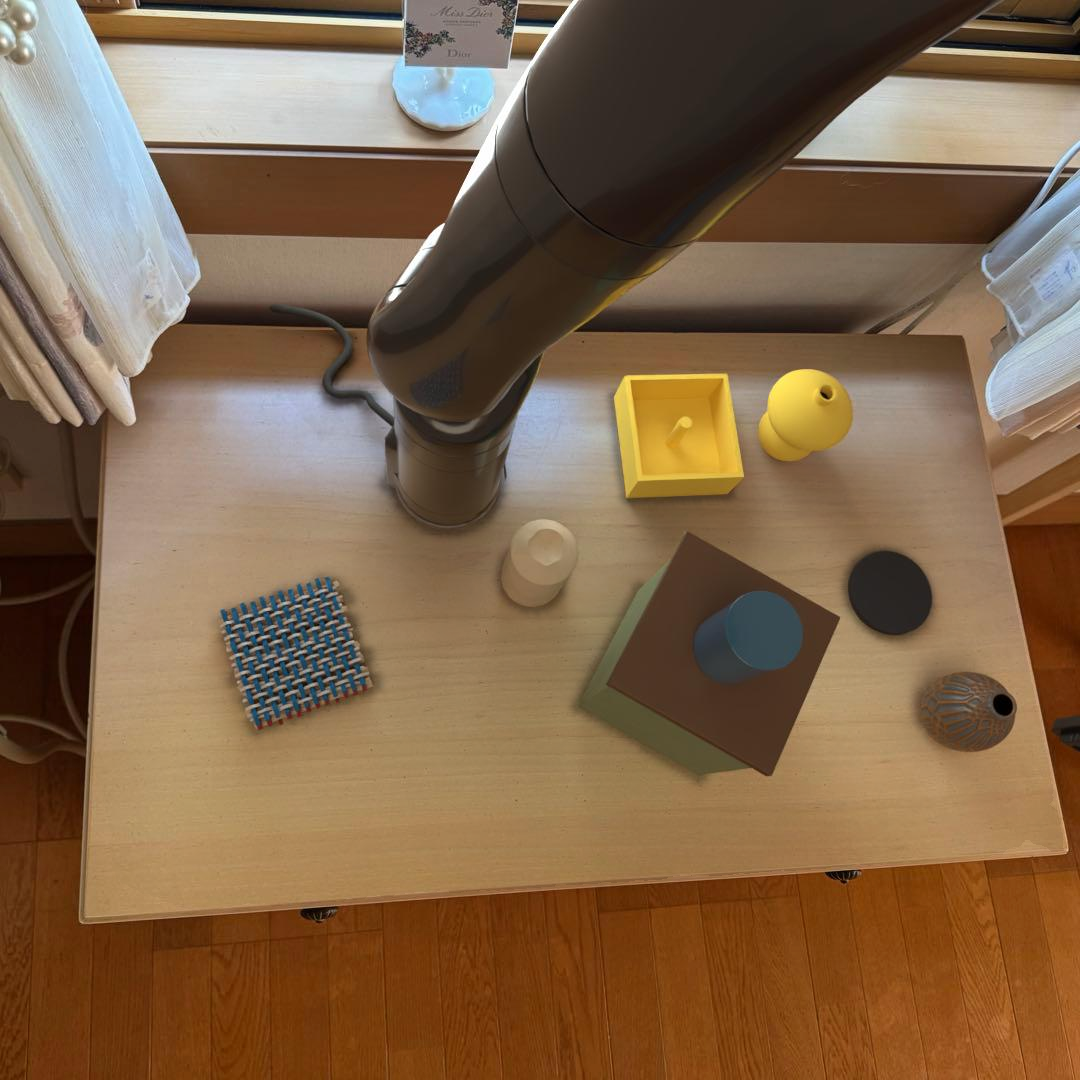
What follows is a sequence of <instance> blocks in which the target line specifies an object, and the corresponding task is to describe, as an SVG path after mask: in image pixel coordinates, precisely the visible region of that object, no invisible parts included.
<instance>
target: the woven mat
mask: <svg viewBox="0 0 1080 1080" xmlns="http://www.w3.org/2000/svg"><path fill="white" fill-rule="evenodd" d="M324 581H325V585H322V582H321V580H320V577H316V578H314V582H315V585H316V587H315V588H313V586H312V583H311V582H306V583H305V585H306V588H307V590H306V591H304V589H303V586H302V585H301V583H298V584H296V585H295V586H296V589H297V592H298V593H297V594H295V593H294V590H293V588H288V589H287V593H288V596H285V594H284V592H283V590H282V589H280V590H278V591H277V594H278V598H279V599H277V600H276V598H275V596H274V594H271V595H268V598H269V602H270V603H267V601H266V599H265V598H264V596H263V595H262V596H259V597H258V601H259V604H260V606H258V607H257V603H256V601H255V600H253V601H250V602H249V603H250V607H251V609H249V610H248V607H247V604H245V602H240V603H239V606H240V610H241V612H240V613H239V611H238V609H237V607H236V606H234V607H232V608H230V611H231V614H230V615H229V614H228V612H227V610H225V608H223V609H220V610H219V612H220V615H221V617H222V618H220V619H218V620H217V626H219V627H220V629H221V628H223V627H224V629H223V630H220V633H221V634H226V636H225V637H223V640H224V641H225V644H226V647H225V650H226V652H227V653H233V654H232V655H230V656H229V658H228V659H230V661H232V660H233V663H231V666H230V667H231V668H233V671H234V672H233V673H234V678H235V680H237V681H236V682H235V683H236V684H237V687H236V688H237V690H238V691H239V692H240V693H242V692H243V693H242V695H243V697H245V698H242V703H247V704H248V706H247V707H245V708H244V712H245V716H246V717H247V718H248V719H249V722H253V725H254V728H255V729H256V730H258V731H261V730H263V729H264V727H265V726H267V727H269V728H270V727H272V726H273V725H274V724H273V723H275V722H278V725H279V726H282V725H284V719H287V720H291V719H293V716H297V718H301V717H303V713H304V712H306V713H310V712H312V709H314V708H315V709H316V710H318V709H320V708H322V707H321V706H322V705H325V706H329V705H331V702H333V701H335V704H339V703H341V698H344V699H349V698H350V695H352V694H353V696H354V697H357V696H359V692H361V691H363V693H365V692H367V691H368V689H369V688H373V687H374V685H373V682H372V680H371V678H370V676H369V675H370V672H369V667H368V666H364V665H361V666H360V664H362V663H365V662H366V661H365V658H364V655H363V653H361V651H359V650H360V647H361V644H360V642H358V641H357V640H352V639H354V636H353V633H352V631H354V627H351V626H352V625H351V622H349V621H348V618H347V617H346V616H344V617H343V614H345V613H348V612H349V611H348V609H349V608H348V606H346V605H343V604H342V603H343V602H345V600H344V597H343V594H340V595H339V592H338V591H334V590H337V588H338V587H339V586H340V582H338V581H337V580H334V581H332V582H331V580H330V577H329V575H327V576H325V577H324ZM319 596H320V597H319ZM317 597H318V598H317ZM310 599H311V600H310ZM307 600H309V601H307ZM298 603H301V604H298ZM289 605H291V606H290V607H289ZM279 609H281V610H279ZM271 612H273V613H271ZM270 613H271V614H270ZM261 615H263V616H261ZM336 617H337V618H338V619H335V618H336ZM253 618H254V619H253ZM252 619H253V620H252ZM326 621H328V622H327V623H325V622H326ZM242 622H244V623H242ZM232 624H235V625H234V626H232ZM318 624H319V625H318ZM316 625H317V626H316ZM309 627H310V628H309ZM306 628H309V629H306ZM236 629H237V630H236ZM267 631H268V632H267ZM298 631H300V632H298ZM288 634H291V635H289V636H288ZM329 634H330V635H329ZM279 637H281V638H280V639H278V638H279ZM270 641H271V642H270ZM344 641H345V643H342V642H344ZM260 644H262V645H260ZM334 645H336V646H335V647H333V646H334ZM251 647H252V648H251ZM325 649H326V650H325ZM242 650H243V651H242ZM240 651H242V652H240ZM316 652H318V653H316ZM307 655H308V656H307ZM305 656H306V657H305ZM287 662H288V663H287ZM277 665H279V666H277ZM353 666H354V668H353V669H351V667H353ZM268 669H269V670H268ZM342 669H344V670H345V672H341V670H342ZM259 672H260V673H259ZM334 672H335V674H336V675H333V676H332V674H333V673H334ZM248 676H249V677H248ZM325 676H326V678H325V679H323V678H322V677H325ZM367 676H368V677H367ZM365 677H366V678H365ZM357 679H358V680H357ZM314 680H316V682H313V681H314ZM306 683H307V685H304V684H306ZM295 687H297V689H294V688H295ZM285 690H288V692H285ZM244 691H245V692H244ZM277 693H278V695H275V694H277ZM267 697H269V698H268V699H266V698H267ZM258 700H259V702H257V703H256V701H258Z"/></svg>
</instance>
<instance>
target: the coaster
mask: <svg viewBox="0 0 1080 1080" xmlns="http://www.w3.org/2000/svg"><path fill="white" fill-rule="evenodd" d="M847 583H848V584H847V592H848V600H849V603H850V605H851V607H852V609H853V611H854V613H855V614H856V615H857V617H858V618H859V620H861V622H862V623H863V624H865V625H866V626H867V627H868V628H869V629H871V630H873V631H876V632H877V633H879V634H883V635H887V636H901V635H906V634H908V633H911V632H913V631H915V630H917V629H918V628H920V627H921V626H922V625H924V623H925V622H926V620H927V619H928V617H929V615H930V613H931V609H932V606H933V605H932V604H933V591H932V587H931V584H930V581H929V579H928V577H927V575H926V574H925V572H924V571H923V569H922V568H921V567H920V566H919V565H918V564H917V563H916V562H915V561H914V560H912V559H911V558H910V557H908V556H906V555H904V554H902V553H899V552H896V551H892V550H891V551H890V550H880V551H875V552H873V553H870V554H868V555H866V556H865V557H863V558H862V559H860V560H858V562H857V563H856V564H855V565H854V567H853V568H852V570H851V571H850V575H849V577H848V582H847Z"/></svg>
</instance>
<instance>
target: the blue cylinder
mask: <svg viewBox="0 0 1080 1080" xmlns="http://www.w3.org/2000/svg"><path fill="white" fill-rule="evenodd" d="M802 641H803V629H802V624H801V621H800V618H799V616H798V614H797V612H796V611H795V609H794V608H793V607H792V605H791V604H790V603H789V602H787V601H786V600H785V599H784V598H782V597H781V596H779V595H777V594H774V593H771V592H767V591H754V592H749V593H747V594H744V595H743V596H741V597H739V598H738V599H736V600H735V601H733V602H732V603H730V604H729V605H727V606H726V607H724V608H723V609H721V610H720V611H718V612H717V613H715V614H714V615H712V616H711V617H709V618H708V619H706V620H705V621H704V622H703V623H702V624H701V625H700V626H699V628H698V630H697V632H696V634H695V637H694V643H693V649H694V655H695V659H696V661H697V663H698V665H699V667H700V668H701V670H702V671H703V672H704V673H705V674H706V675H707V676H708V677H709V678H711V679H712V680H714V681H716V682H718V683H721V684H725V685H738V684H742V683H745V682H747V681H750V680H752V679H755V678H757V677H760V676H762V675H765V674H767V673H770V672H772V671H775V670H777V669H780V668H783V667H784V666H786V665H788V664H789V663H790V662H792V661H793V660H794V659H795V657H796V656H797V654H798V653H799V651H800V648H801V645H802Z"/></svg>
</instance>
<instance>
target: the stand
mask: <svg viewBox="0 0 1080 1080" xmlns="http://www.w3.org/2000/svg"><path fill="white" fill-rule="evenodd" d="M754 591H767V592H771V593H774V594H777V595H779V596H781V597H782V598H784V599H785V600H786V601H787V602H789V603H790V604H791V605H792V607H793V608H794V609H795V611H796V612H797V614H798V616H799V618H800V621H801V624H802V629H803V641H802V645H801V648H800V651H799V653H798V654H797V656H796V657H795V659H794V660H793V661H792V662H790V663H789V664H788V665H786V666H784V667H783V668H780V669H777V670H775V671H772V672H770V673H767V674H765V675H762V676H760V677H757V678H755V679H752V680H750V681H747V682H745V683H742V684H738V685H725V684H721V683H718V682H716V681H714V680H712V679H711V678H709V677H708V676H707V675H706V674H705V673H704V672H703V671H702V670H701V668H700V667H699V665H698V663H697V661H696V659H695V655H694V649H693V643H694V637H695V634H696V632H697V630H698V628H699V626H700V625H701V624H702V623H703V622H704V621H705V620H706V619H708V618H709V617H711V616H712V615H714V614H715V613H717V612H718V611H720V610H721V609H723V608H724V607H726V606H727V605H729V604H730V603H732V602H733V601H735V600H736V599H738V598H739V597H741V596H743V595H744V594H747V593H749V592H754ZM840 620H841V616H839V615H838V614H836V613H835V612H833V611H830V610H828V609H827V608H825V607H823V606H822V605H820V604H818V603H816V602H814V601H813V600H811V599H809V598H807V597H806V596H804V595H802V594H800V593H799V592H797V591H795V590H793V589H791V588H789V587H787V586H786V585H784V584H783V583H781V582H779V581H777V580H775V579H774V578H772V577H770V576H769V575H766V574H765V573H763V572H761V571H759V570H758V569H756V568H755V567H753V566H750V565H749V564H747V563H746V562H743V561H742V560H740V559H738V558H736V557H735V556H734V555H731V554H729V553H728V552H726V551H724V550H722V549H721V548H719V547H717V546H715V545H713V544H711V543H710V542H708V541H707V540H704V539H703V538H701V537H699V536H697V535H696V534H694V533H692V532H690V531H689V530H686V531H685V532H684V533H683V534H682V536H681V537H680V540H679V542H678V544H677V545H676V548H675V550H674V552H673V554H672V556H671V557H670V559H669V560H668V561H666V563H665V564H664V565H663V566H662V567H661V568H660V569H658V571H656V572H655V574H653V575H652V576H651V578H649V579H648V580H647V582H645V583H644V584H643V585H642V587H640V588H639V589H638V590H637V592H636V594H635V596H634V598H633V600H632V602H631V604H630V605H629V608H628V609H627V611H626V613H625V614H624V617H623V618H622V621H621V623H620V624H619V626H618V628H617V630H616V631H615V634H614V636H613V638H612V640H611V641H610V644H609V645H608V648H607V649H606V651H605V653H604V654H603V656H602V659H601V661H600V662H599V664H598V666H597V668H596V670H595V672H594V674H593V676H592V678H591V680H590V681H589V683H588V686H587V687H586V690H585V691H584V693H583V695H582V697H581V699H580V700H579V702H578V705H577V707H578V708H580V709H582V710H583V711H585V712H587V713H588V714H591V715H592V716H594V717H595V718H597V719H599V720H601V721H602V722H604V723H605V724H608V725H609V726H611V727H612V728H615V729H616V730H618V731H619V732H622V733H623V734H625V735H627V736H629V737H631V738H632V739H634V740H635V741H637V742H639V743H641V744H642V745H644V746H646V747H648V748H649V749H651V750H653V751H655V752H656V753H658V754H660V755H662V756H663V757H665V758H667V759H669V760H671V761H672V762H674V763H676V764H677V765H678V766H681V767H683V768H685V769H687V770H688V771H690V772H691V773H693V774H695V775H697V776H703V775H710V774H712V775H713V774H717V773H727V772H733V771H740V770H747V769H752V770H754V771H756V772H758V773H760V774H761V775H763V776H765V777H772V776H773V774H774V773H775V770H776V767H777V766H778V763H779V760H780V758H781V756H782V753H783V751H784V750H785V749H784V748H785V747H786V745H787V742H788V740H789V738H790V735H791V733H792V731H793V729H794V726H795V724H796V722H797V719H798V716H799V715H800V712H801V710H802V708H803V705H804V703H805V700H806V698H807V697H808V693H809V692H810V689H811V686H812V684H813V682H814V680H815V678H816V675H817V674H818V670H819V669H820V666H821V663H822V662H823V659H824V657H825V655H826V652H827V650H828V647H829V645H830V643H831V641H832V638H833V636H834V633H835V631H836V629H837V627H838V625H839V622H840Z"/></svg>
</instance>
